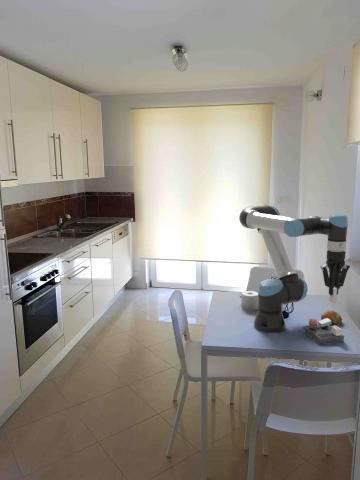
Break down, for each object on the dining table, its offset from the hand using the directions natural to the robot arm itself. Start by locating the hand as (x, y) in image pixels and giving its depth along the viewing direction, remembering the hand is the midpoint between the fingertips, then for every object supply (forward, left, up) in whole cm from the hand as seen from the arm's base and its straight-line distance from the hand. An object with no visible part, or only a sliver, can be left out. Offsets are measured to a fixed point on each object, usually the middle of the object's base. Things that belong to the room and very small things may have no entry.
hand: (332, 301), depth 169 cm
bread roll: (+12, +20, -19) cm, 30 cm away
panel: (-1, +5, -19) cm, 19 cm away
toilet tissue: (-22, +50, -19) cm, 58 cm away
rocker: (+2, +9, -14) cm, 17 cm away
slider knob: (+2, 0, -16) cm, 16 cm away
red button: (-4, +9, -15) cm, 18 cm away
